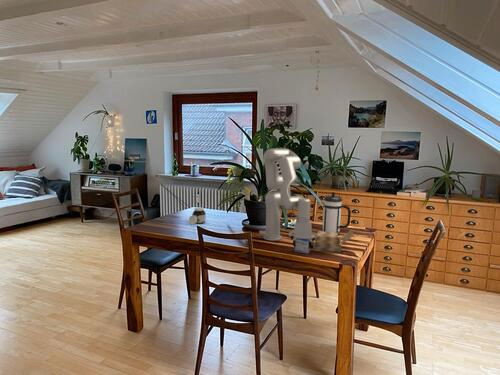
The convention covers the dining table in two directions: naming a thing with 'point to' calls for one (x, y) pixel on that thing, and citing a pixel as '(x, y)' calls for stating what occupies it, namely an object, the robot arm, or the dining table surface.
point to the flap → (347, 236)
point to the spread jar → (198, 216)
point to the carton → (327, 242)
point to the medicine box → (302, 245)
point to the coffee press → (333, 213)
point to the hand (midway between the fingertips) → (302, 247)
